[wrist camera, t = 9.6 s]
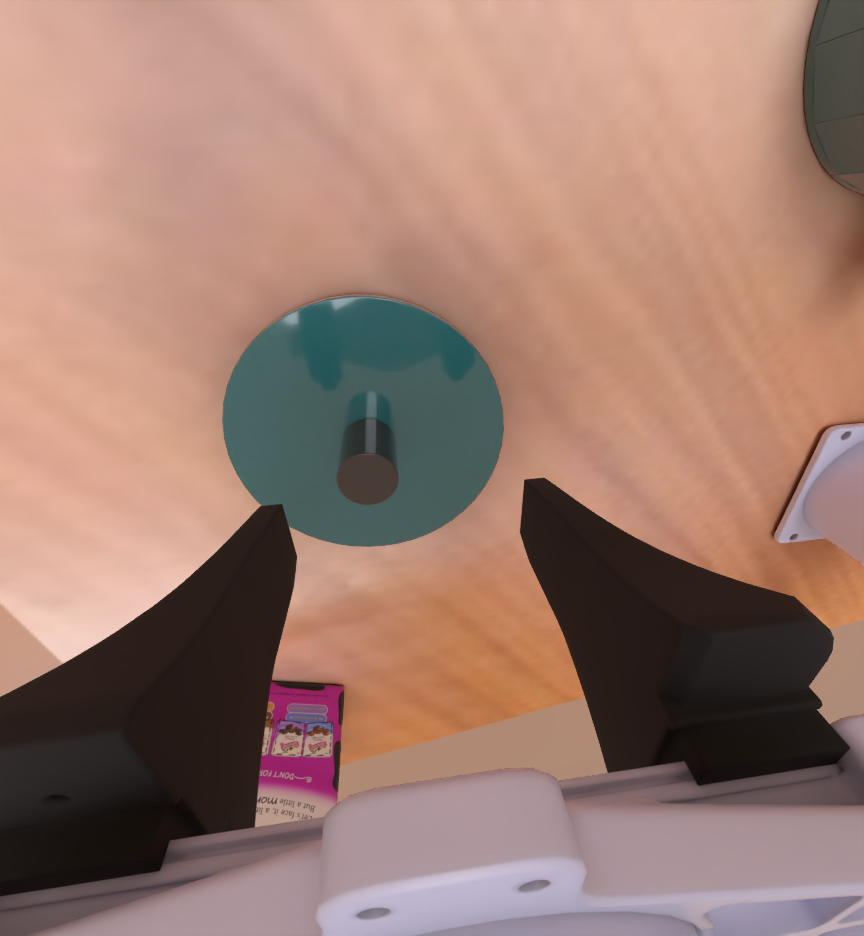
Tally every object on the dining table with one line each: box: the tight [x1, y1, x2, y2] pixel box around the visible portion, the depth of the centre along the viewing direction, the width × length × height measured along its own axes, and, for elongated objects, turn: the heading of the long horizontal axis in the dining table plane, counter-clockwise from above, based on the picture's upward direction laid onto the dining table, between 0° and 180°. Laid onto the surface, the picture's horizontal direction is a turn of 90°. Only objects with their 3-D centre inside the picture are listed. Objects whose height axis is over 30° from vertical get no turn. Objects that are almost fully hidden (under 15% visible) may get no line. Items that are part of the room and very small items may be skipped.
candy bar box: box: [255, 682, 344, 827], centre depth 23 cm, size 11×5×16 cm, turn 74°
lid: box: [222, 294, 504, 547], centre depth 18 cm, size 12×12×4 cm
